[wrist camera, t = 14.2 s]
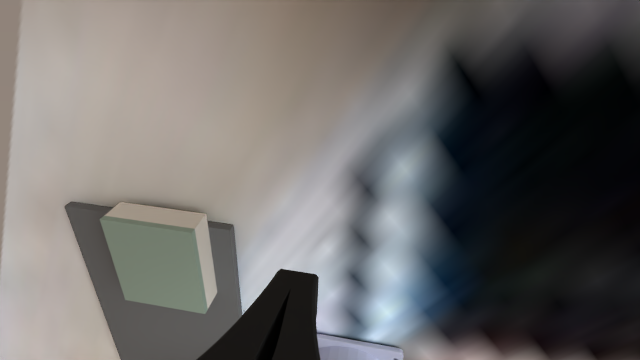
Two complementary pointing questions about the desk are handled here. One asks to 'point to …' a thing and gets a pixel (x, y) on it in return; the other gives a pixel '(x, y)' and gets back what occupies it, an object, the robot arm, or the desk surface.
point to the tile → (161, 256)
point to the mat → (151, 320)
